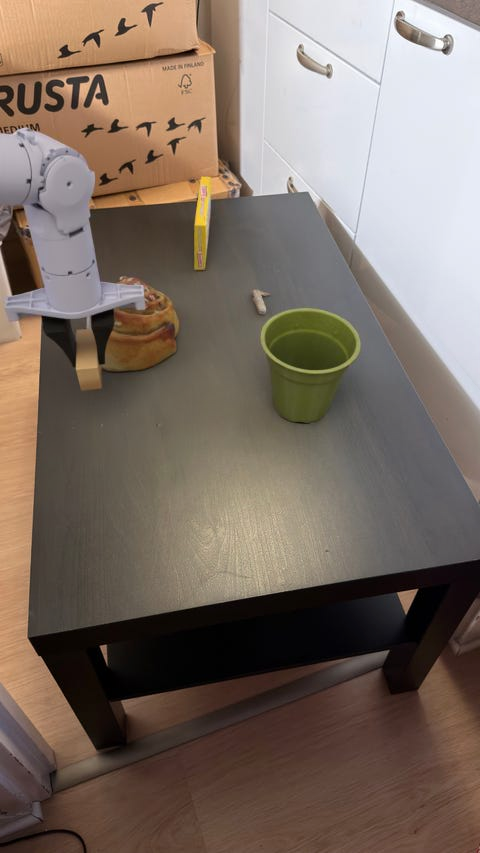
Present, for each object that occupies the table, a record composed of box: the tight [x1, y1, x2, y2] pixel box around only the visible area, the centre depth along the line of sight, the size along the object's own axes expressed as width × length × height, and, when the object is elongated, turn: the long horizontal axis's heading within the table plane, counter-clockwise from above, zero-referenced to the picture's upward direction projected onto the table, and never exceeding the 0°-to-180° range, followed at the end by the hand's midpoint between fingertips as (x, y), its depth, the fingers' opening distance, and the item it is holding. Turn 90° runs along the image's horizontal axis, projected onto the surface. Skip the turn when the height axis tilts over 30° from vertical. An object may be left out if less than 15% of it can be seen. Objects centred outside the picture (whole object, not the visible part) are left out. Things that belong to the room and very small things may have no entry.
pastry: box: [101, 276, 181, 373], centre depth 88 cm, size 13×15×8 cm
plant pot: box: [259, 307, 362, 424], centre depth 78 cm, size 12×12×11 cm
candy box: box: [193, 176, 212, 271], centre depth 104 cm, size 16×2×8 cm, turn 179°
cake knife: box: [75, 316, 103, 392], centre depth 77 cm, size 19×2×3 cm, turn 9°
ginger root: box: [251, 289, 271, 315], centre depth 96 cm, size 6×1×3 cm
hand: (89, 360), depth 73 cm, fingers closed on cake knife, 2 cm apart
